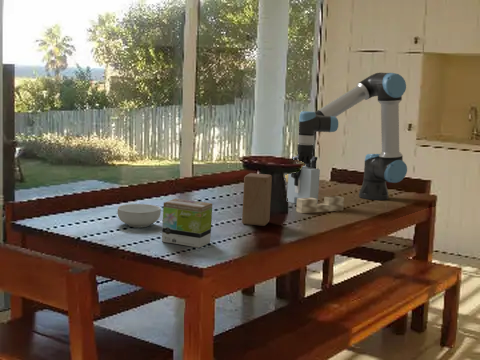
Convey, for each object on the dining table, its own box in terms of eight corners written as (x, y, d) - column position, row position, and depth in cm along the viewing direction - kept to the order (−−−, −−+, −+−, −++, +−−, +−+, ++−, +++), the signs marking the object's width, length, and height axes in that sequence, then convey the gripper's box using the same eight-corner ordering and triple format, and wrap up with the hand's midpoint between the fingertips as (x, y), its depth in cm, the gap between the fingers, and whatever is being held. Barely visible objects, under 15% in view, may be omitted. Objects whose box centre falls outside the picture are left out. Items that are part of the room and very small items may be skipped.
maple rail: (337, 208, 344) (338, 196, 343) (343, 210, 341) (344, 197, 340) (296, 211, 331) (296, 198, 331) (301, 213, 328) (302, 200, 327)
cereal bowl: (121, 219, 294) (122, 202, 293) (162, 222, 294) (163, 204, 293) (113, 228, 277) (113, 210, 276) (156, 231, 277) (157, 212, 276)
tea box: (161, 242, 259) (162, 201, 257) (173, 237, 268) (175, 197, 266) (199, 248, 253) (201, 206, 251) (211, 242, 263) (213, 202, 261)
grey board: (286, 201, 358) (288, 164, 355) (295, 200, 360) (297, 164, 358) (308, 207, 342) (311, 169, 340) (317, 207, 345) (319, 169, 342)
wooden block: (265, 226, 295) (268, 177, 292) (241, 224, 297) (243, 175, 294) (269, 222, 305) (272, 174, 302) (246, 219, 307) (248, 172, 304)
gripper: (316, 143, 355) (313, 190, 358) (284, 143, 345) (282, 191, 349) (326, 144, 349) (322, 192, 352) (294, 145, 339) (291, 194, 342)
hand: (302, 192), depth 350 cm, fingers open, 6 cm apart
